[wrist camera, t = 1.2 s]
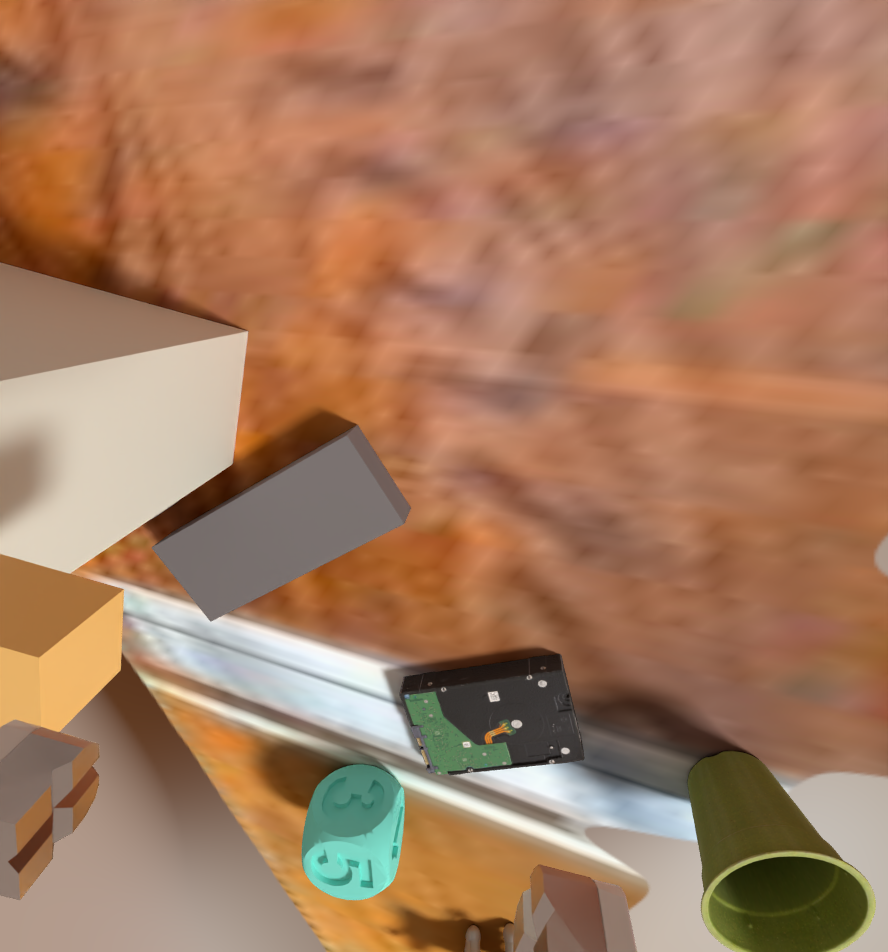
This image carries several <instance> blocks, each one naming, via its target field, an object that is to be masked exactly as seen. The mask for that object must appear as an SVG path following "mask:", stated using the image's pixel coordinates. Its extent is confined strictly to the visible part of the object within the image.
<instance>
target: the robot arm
mask: <svg viewBox="0 0 888 952" xmlns="http://www.w3.org/2000/svg"><path fill="white" fill-rule="evenodd" d="M98 758H99V744H98V743H94V742H91V741H88V740H84V739H81V738H77V737H74V736H70V735H67V734H64V733H60V732H57V731H54V730H50V729H47V728H44V727H41V726H37V725H34V724H30V723H27V722H23V721H19V720H16V719H15V720H13V721H11V722H9V723H7V724H5V725H3V726H1V727H0V895H1V896H5V897H9V898H13V899H17V900H21V899H22V897H23V896H24V895H25V893H26V892H27V891H28V889H29V888H30V887H31V886H32V884H33V883H34V882H35V881H36V879H37V878H38V877H39V876H40V874H41V873H42V872H43V870H44V869H45V868H46V867H47V865H48V864H49V863H50V861H51V860H52V859H53V848H54V843H55V842H57V841H59V840H61V839H62V838H64V837H66V836H68V835H70V834H71V833H73V832H74V830H75V829H76V828H77V826H78V825H79V824H80V823H81V821H82V820H83V818H84V817H85V816H86V814H87V812H88V810H89V808H90V806H91V804H92V803H93V801H94V799H95V796H96V792H97V789H98V786H99V774H98V773H97V772H96V770H95V769H94V767H93V766H92V765H93V764H94V763H95V762H96V761H97V759H98ZM530 881H531V889H529V890H527V891H525V892H523V893H522V896H521V898H520V901H519V903H518V906H517V911H516V916H515V921H514V933H513V952H637V949H636V945H635V939H634V934H633V930H632V925H631V920H630V915H629V910H628V905H627V900H626V895H625V893H624V892H623V890H622V888H621V887H619V886H617V885H613V884H609V883H605V882H601V881H597V880H593V879H591V878H590V877H586V876H582V875H578V874H574V873H570V872H566V871H563V870H559V869H555V868H551V867H547V866H543V865H537V866H536V867H535V868H534V870H533V872H532V874H531V876H530Z"/></svg>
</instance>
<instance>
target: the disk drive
mask: <svg viewBox="0 0 888 952" xmlns="http://www.w3.org/2000/svg"><path fill="white" fill-rule="evenodd" d="M400 698H401V700H402V703H403V706H404V709H405V712H406V714H407V717H408V720H409V722H410V725H411V730H412V732H413V735H414V737H415V738H416V740H417V742H418V745H419V747H421V748H420V751H421V753H422V756H423V759H424V761H425V764H426V765H427V768H426V770H427V771H428V773H434V772H436V774H437V775H442V774H447V773H448V774H449V775H457V774H464V773H470V772H481V771H490V770H500V769H508V768H509V769H511V768H519V767H528V766H536V765H546V764H559V763H568V762H574V761H580V760H584V752H583V746H582V741H581V737H580V732H579V728H578V723H577V719H576V715H575V711H574V706H573V702H572V698H571V694H570V689H569V685H568V681H567V677H566V673H565V669H564V665H563V661H562V656H561V655H560V654H556V655H549V656H539V657H532V658H529V659H523V660H516V661H509V662H502V663H495V664H489V665H482V666H475V667H469V668H462V669H455V670H448V671H441V672H430V673H424V674H420V675H413V676H406V677H404V679H403V682H402V686H401V690H400Z"/></svg>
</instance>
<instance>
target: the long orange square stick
mask: <svg viewBox="0 0 888 952" xmlns="http://www.w3.org/2000/svg"><path fill="white" fill-rule="evenodd" d="M123 599H124V589H121V588H118V587H114V586H111V585H107V584H104V583H100V582H97V581H93V580H90V579H86V578H83V577H79V576H76V575H72V574H69V573H65V572H62V571H58V570H55V569H51V568H48V567H44V566H41V565H37V564H34V563H31V562H27V561H24V560H20V559H17V558H13V557H10V556H6V555H3V554H0V727H1V726H3V725H5V724H7V723H9V722H11V721H13V720H15V719H16V720H19V721H23V722H27V723H30V724H34V725H37V726H41V727H44V728H47V729H50V730H54V731H57V732H60V730H62V729H63V727H64V726H66V724H67V723H68V722H69V721H70V720H71V719H72V718H73V717H74V716H75V715H76V714H77V713H78V712H79V711H80V710H81V709H82V708H83V707H84V706H85V705H86V704H87V703H88V702H89V701H90V700H91V699H92V698H93V697H94V696H95V695H96V694H97V693H98V692H99V691H100V690H101V689H102V688H103V687H104V686H105V685H106V684H107V683H108V682H109V681H110V680H111V679H112V678H113V677H114V676H115V675H116V674H117V673H118V672H119V671H120V670H121V647H122V623H123Z"/></svg>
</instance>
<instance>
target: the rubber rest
mask: <svg viewBox="0 0 888 952" xmlns="http://www.w3.org/2000/svg"><path fill="white" fill-rule="evenodd" d="M410 509H411V507H410V506H409V504H408V503H407V501H406V500H405V498H404V497H403V495H402V493H401V492H400V490H399V489H398V487H397V486H396V484H395V483H394V481H393V479H392V478H391V476H390V475H389V473H388V472H387V470H386V468H385V467H384V465H383V464H382V462H381V461H380V459H379V458H378V456H377V454H376V453H375V451H374V450H373V448H372V447H371V445H370V443H369V442H368V440H367V439H366V437H365V436H364V434H363V433H362V431H361V429H360V428H359V426H358V425H356V426H355V427H353V428H351V429H349V430H348V431H346V432H344V433H343V434H341V435H339V436H337V437H336V438H334V439H332V440H330V441H329V442H327V443H325V444H324V445H322V446H320V447H318V448H317V449H315V450H313V451H311V452H310V453H308V454H306V455H305V456H303V457H301V458H299V459H298V460H296V461H294V462H292V463H291V464H289V465H287V466H286V467H284V468H282V469H280V470H279V471H277V472H275V473H273V474H272V475H270V476H268V477H267V478H265V479H263V480H261V481H260V482H258V483H256V484H254V485H253V486H251V487H249V488H248V489H246V490H244V491H242V492H241V493H239V494H237V495H235V496H234V497H232V498H230V499H229V500H227V501H225V502H223V503H222V504H220V505H218V506H217V507H215V508H213V509H211V510H210V511H208V512H206V513H204V514H203V515H201V516H199V517H198V518H196V519H194V520H192V521H191V522H189V523H187V524H185V525H184V526H182V527H180V528H179V529H177V530H175V531H173V532H172V533H171V534H169V535H168V536H167V537H165V538H164V539H163V540H161V541H160V542H159V543H157V544H156V545H155V546H153V547H152V549H153V550H154V551H155V553H156V554H157V555H158V556H159V558H160V559H161V560H162V561H163V563H164V564H165V565H166V566H167V568H168V569H169V570H170V571H171V573H172V574H173V575H174V576H175V578H176V579H177V580H178V581H179V583H180V584H181V585H182V586H183V588H184V589H185V590H186V591H187V593H188V594H189V595H190V596H191V598H192V599H193V600H194V601H195V603H196V604H197V605H198V606H199V608H200V609H201V610H202V611H203V613H204V614H205V615H206V616H207V618H208V619H209V620H210V621H213V620H215V619H217V618H219V617H221V616H223V615H225V614H227V613H229V612H230V611H232V610H234V609H236V608H238V607H240V606H242V605H244V604H246V603H248V602H250V601H252V600H254V599H256V598H258V597H260V596H262V595H264V594H266V593H268V592H270V591H272V590H274V589H276V588H278V587H280V586H282V585H284V584H286V583H288V582H290V581H292V580H294V579H296V578H298V577H300V576H302V575H304V574H306V573H308V572H310V571H312V570H314V569H316V568H318V567H320V566H322V565H324V564H326V563H327V562H329V561H331V560H333V559H335V558H337V557H339V556H341V555H343V554H345V553H347V552H349V551H351V550H353V549H355V548H357V547H359V546H361V545H363V544H365V543H367V542H369V541H371V540H373V539H375V538H377V537H379V536H381V535H383V534H385V533H387V532H389V531H391V530H393V529H395V528H397V527H399V526H401V525H403V524H404V523H405V521H406V519H407V516H408V514H409V511H410Z"/></svg>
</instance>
